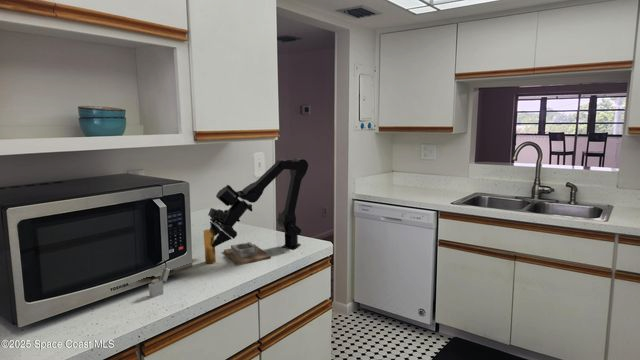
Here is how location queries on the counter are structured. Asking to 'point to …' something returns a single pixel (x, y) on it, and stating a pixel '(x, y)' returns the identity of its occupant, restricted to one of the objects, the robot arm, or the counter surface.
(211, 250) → the post
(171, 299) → the counter surface
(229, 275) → the counter surface
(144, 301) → the counter surface
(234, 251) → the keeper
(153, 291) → the lighter
